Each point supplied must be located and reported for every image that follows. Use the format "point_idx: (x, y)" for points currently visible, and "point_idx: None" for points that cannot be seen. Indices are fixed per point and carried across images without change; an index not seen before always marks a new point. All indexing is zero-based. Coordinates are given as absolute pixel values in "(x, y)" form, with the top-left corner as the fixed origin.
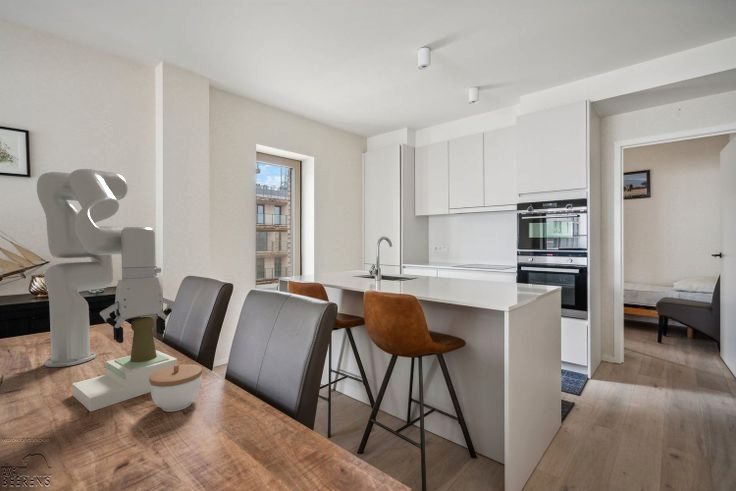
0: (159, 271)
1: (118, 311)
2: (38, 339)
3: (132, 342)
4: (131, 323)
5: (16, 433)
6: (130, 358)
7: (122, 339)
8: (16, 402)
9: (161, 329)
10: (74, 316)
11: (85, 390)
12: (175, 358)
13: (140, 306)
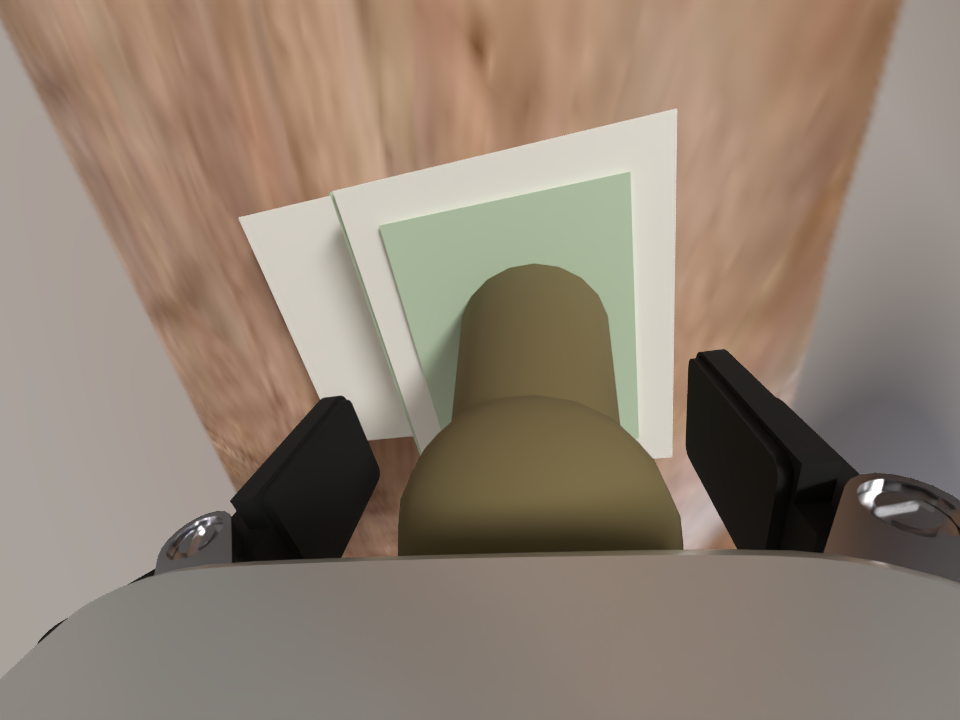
0: None
1: (26, 685)
2: None
3: (455, 381)
4: (398, 542)
5: (214, 416)
6: (461, 324)
7: (366, 495)
8: (76, 118)
9: (710, 487)
10: None
11: (312, 357)
12: (669, 442)
13: None
